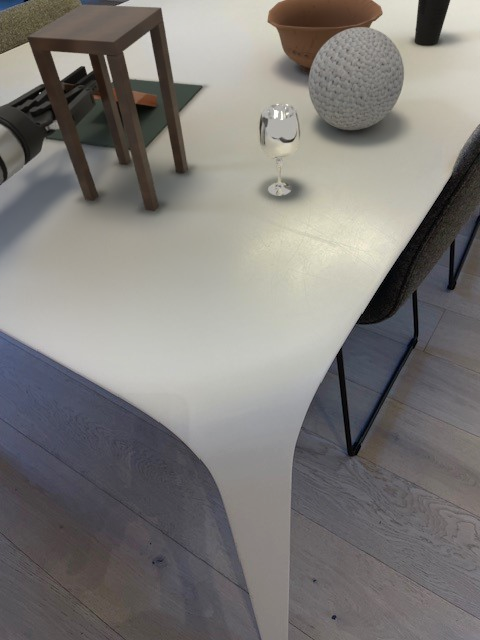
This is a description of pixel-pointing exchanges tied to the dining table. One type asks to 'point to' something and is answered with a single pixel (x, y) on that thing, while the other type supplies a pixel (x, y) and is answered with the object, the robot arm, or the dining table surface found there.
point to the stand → (110, 39)
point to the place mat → (150, 118)
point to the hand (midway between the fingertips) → (93, 75)
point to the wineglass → (279, 138)
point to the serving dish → (139, 97)
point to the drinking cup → (430, 21)
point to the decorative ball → (356, 78)
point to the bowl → (317, 24)
